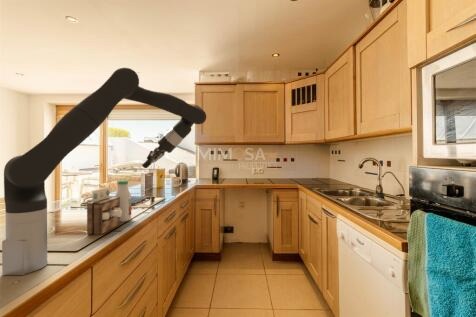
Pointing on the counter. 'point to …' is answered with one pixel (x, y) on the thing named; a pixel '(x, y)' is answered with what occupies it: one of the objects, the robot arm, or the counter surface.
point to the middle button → (115, 213)
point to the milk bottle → (124, 200)
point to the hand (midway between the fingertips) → (144, 166)
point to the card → (100, 194)
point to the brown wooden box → (95, 215)
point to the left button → (105, 216)
